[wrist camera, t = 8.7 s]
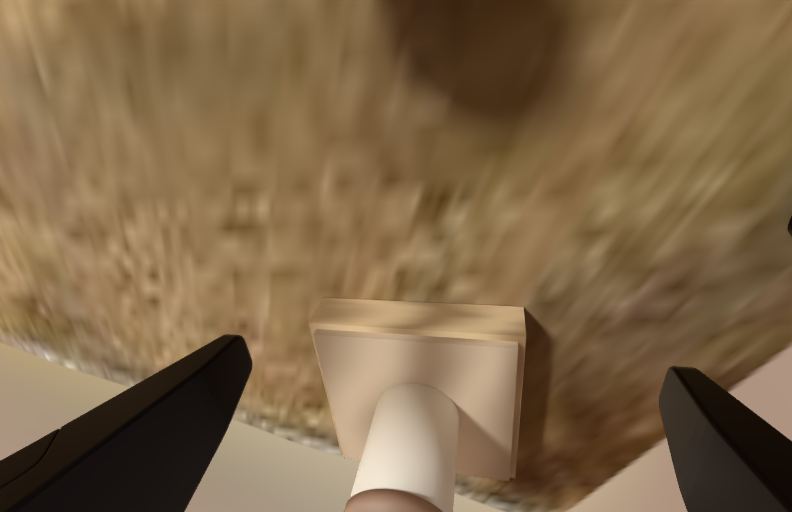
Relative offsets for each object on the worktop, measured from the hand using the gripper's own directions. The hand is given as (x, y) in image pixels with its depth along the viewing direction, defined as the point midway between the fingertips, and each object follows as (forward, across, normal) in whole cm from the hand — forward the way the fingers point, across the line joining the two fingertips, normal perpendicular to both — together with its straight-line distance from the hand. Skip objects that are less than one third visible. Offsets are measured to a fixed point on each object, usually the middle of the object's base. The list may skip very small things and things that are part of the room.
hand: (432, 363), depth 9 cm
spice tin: (+10, +3, +14) cm, 17 cm away
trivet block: (+13, +3, +14) cm, 19 cm away
